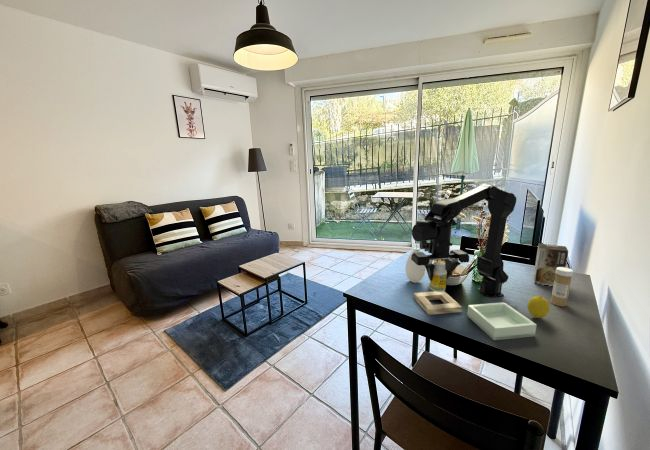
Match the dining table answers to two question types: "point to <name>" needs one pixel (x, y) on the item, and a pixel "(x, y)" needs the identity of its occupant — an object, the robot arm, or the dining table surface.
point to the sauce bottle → (414, 268)
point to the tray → (501, 321)
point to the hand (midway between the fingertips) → (438, 279)
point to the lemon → (538, 307)
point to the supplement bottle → (439, 277)
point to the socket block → (430, 309)
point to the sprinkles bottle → (561, 286)
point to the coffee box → (549, 263)
